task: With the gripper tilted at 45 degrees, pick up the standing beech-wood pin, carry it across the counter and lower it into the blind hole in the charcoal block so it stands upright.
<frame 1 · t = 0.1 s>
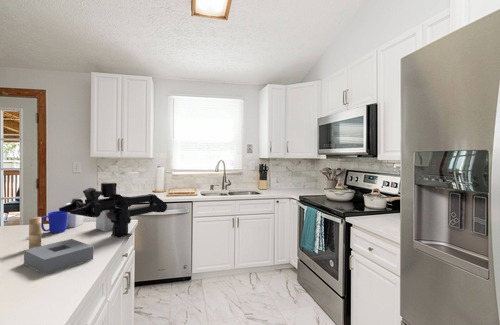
hand: (64, 210, 110), 17 cm above the worktop, tool horizontal, fingers open, 9 cm apart
mug: (53, 233, 134), on the worktop
container: (72, 225, 147), on the worktop
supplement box: (108, 228, 144), on the worktop
pin: (35, 248, 111), on the worktop
socket block: (59, 261, 99), on the worktop
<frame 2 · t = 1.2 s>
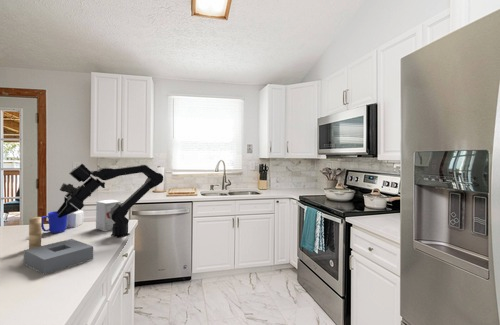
hand: (57, 215, 116), 13 cm above the worktop, tool tilted 45°, fingers open, 9 cm apart
nothing on the worktop moved.
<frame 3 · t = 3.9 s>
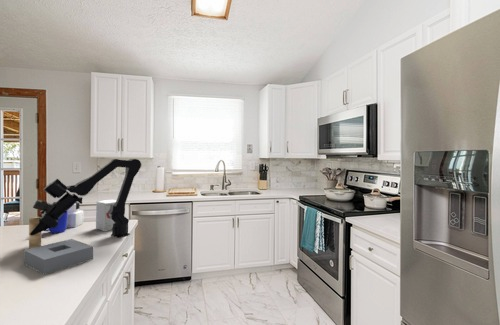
hand: (30, 233, 110), 7 cm above the worktop, tool tilted 45°, fingers closed on pin, 4 cm apart
pin: (35, 248, 111), on the worktop, touching gripper
everything else where it was.
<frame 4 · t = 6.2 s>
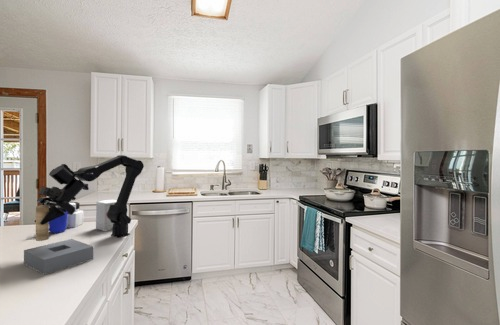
hand: (38, 223, 101), 14 cm above the worktop, tool tilted 45°, fingers closed on pin, 4 cm apart
pin: (42, 239, 102), point 7 cm above the worktop, touching gripper
everything else where it was.
when the fingers open (9 cm above the worktop, at t = 8.4 s): pin drops 1 cm, resting on socket block.
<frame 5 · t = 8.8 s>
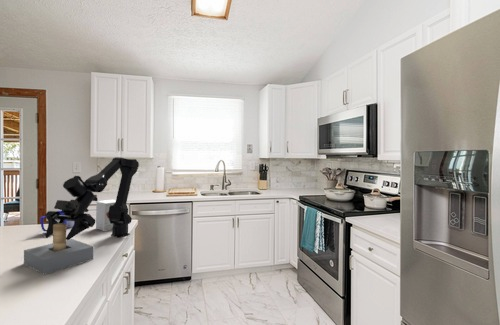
hand: (56, 238, 97), 9 cm above the worktop, tool tilted 45°, fingers open, 9 cm apart
pin: (59, 258, 99), point 1 cm above the worktop, touching socket block
everything else where it was.
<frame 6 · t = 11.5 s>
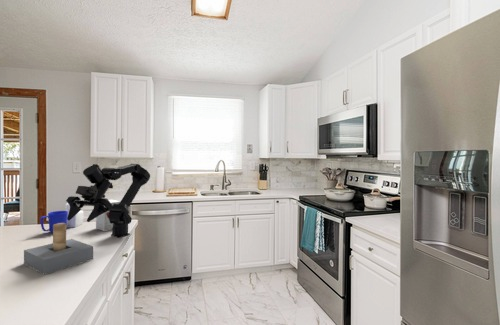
hand: (77, 220, 106), 14 cm above the worktop, tool tilted 45°, fingers open, 9 cm apart
nothing on the worktop moved.
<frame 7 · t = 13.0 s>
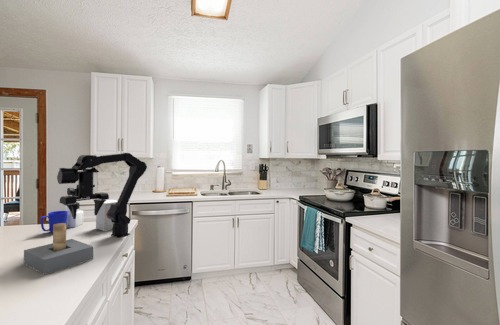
hand: (85, 216, 119), 12 cm above the worktop, tool pointing down, fingers open, 9 cm apart
nothing on the worktop moved.
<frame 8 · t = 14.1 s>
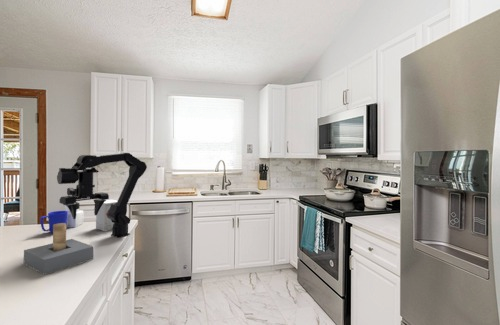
hand: (85, 217, 119), 12 cm above the worktop, tool pointing down, fingers open, 9 cm apart
nothing on the worktop moved.
at the end: pin 0.0 cm off-centre on the socket block, point 1.0 cm above the socket block's base; pin tilted 0°; the gripper is holding nothing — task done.
